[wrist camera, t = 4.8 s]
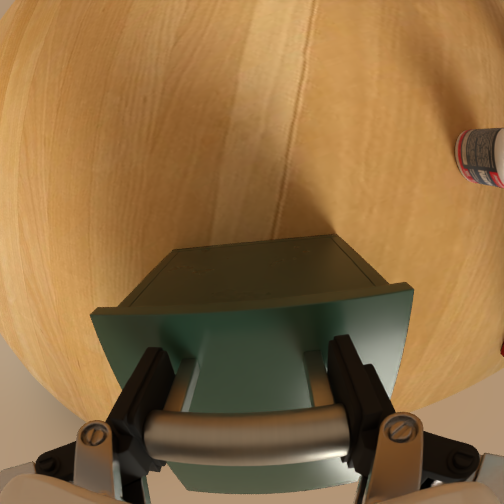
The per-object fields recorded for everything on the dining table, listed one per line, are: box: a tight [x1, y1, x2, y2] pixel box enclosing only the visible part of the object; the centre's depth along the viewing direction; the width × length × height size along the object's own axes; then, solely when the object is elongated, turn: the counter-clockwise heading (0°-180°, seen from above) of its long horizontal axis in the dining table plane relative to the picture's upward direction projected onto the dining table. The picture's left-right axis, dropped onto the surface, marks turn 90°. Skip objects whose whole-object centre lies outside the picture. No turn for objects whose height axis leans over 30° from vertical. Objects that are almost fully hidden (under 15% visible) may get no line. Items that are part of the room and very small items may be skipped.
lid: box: [90, 282, 414, 494], centre depth 10 cm, size 17×14×6 cm
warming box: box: [118, 234, 389, 307], centre depth 19 cm, size 17×14×12 cm
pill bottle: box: [455, 128, 504, 188], centre depth 15 cm, size 5×5×9 cm
